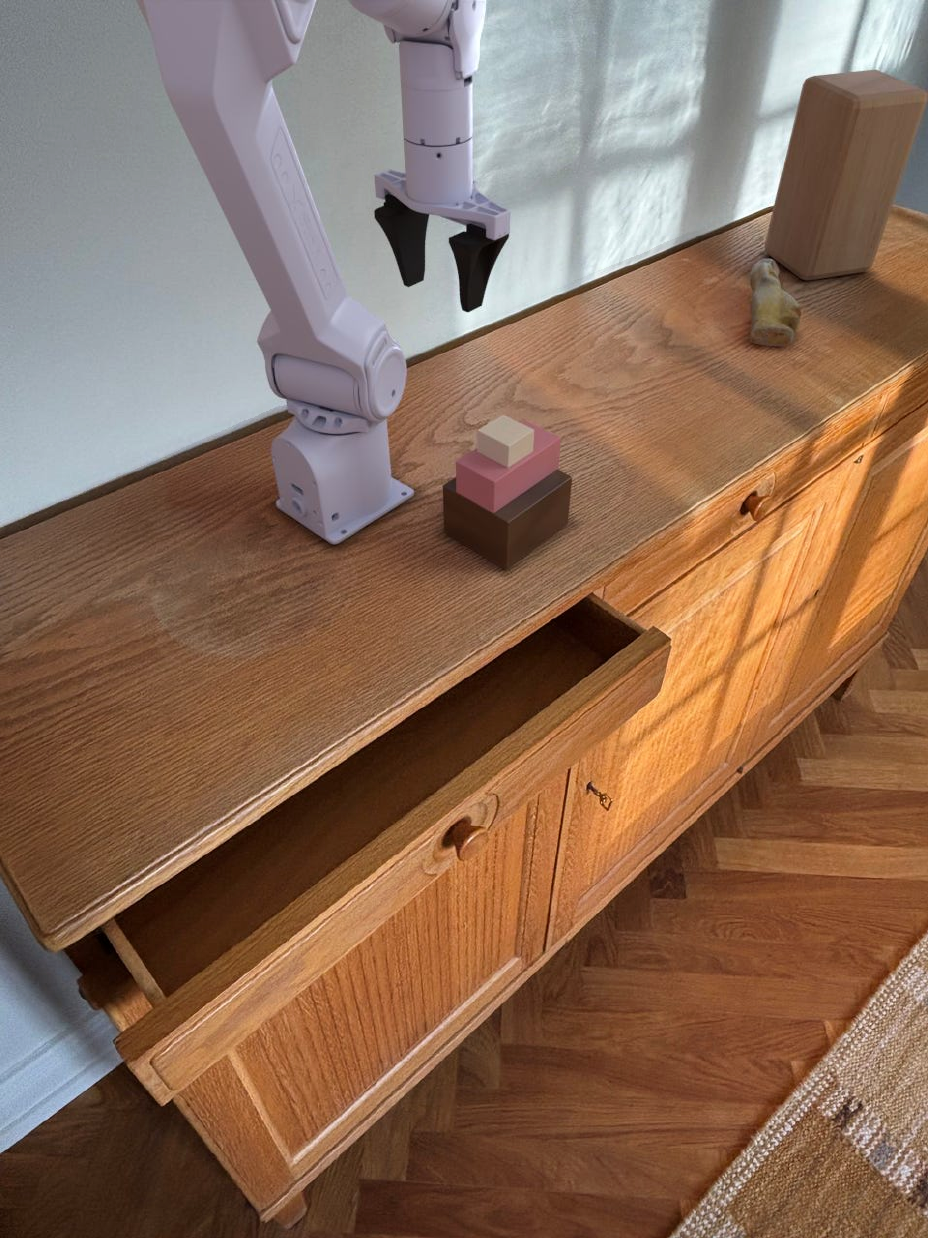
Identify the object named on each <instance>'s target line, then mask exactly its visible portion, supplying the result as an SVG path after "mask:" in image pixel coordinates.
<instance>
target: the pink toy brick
mask: <svg viewBox="0 0 928 1238" xmlns="http://www.w3.org/2000/svg"><path fill="white" fill-rule="evenodd" d="M476 432H477V433H476V437H477V438H476V439H477V441H476V445H477V446H476V448H474V449H473V450H471V451H470V452H468V453H467V454H465V455H463V456H462V457H460V458H458V459H457V460H455V477H456V492H457V493H459V494H460V495H462V496H464V497H466V498H467V499H469V500H471V501H473V502H474V503H476V504H478V505H480V506H481V507H483V508H485V509H487V510H488V511H490V512H492V513H495V512H497V511H498V510H499V509H501V508H502V507H504V506H505V505H507V504H508V503H510V502H511V501H512V500H514V499H515V498H517V497H518V496H520V495H521V494H522V493H524V492H525V491H527V490H528V489H530V488H531V487H533V486H534V485H535V484H537V483H538V482H540V481H541V480H543V479H544V478H545V477H547V476H548V475H550V474H551V473H553V472H554V471H556V470H557V469H558V470H559V467H560V455H561V444H562V437H561V436H558V435H557V434H554V433H553V432H551V431H549V430H546V429H544V428H542V427H540V426H538V425H536V424H534V423H533V422H530V421H528V420H526V419H524V418H522V419H521V420H519V421H517V420H515V419H514V418H511V417H509V416H507V415H506V414H501V415H500V416H498V417H497V418H495V419H493V420H492V421H490V422H488V423H487V424H485V425H484V426H482V427H480V428H478V429H477V431H476Z"/></svg>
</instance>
